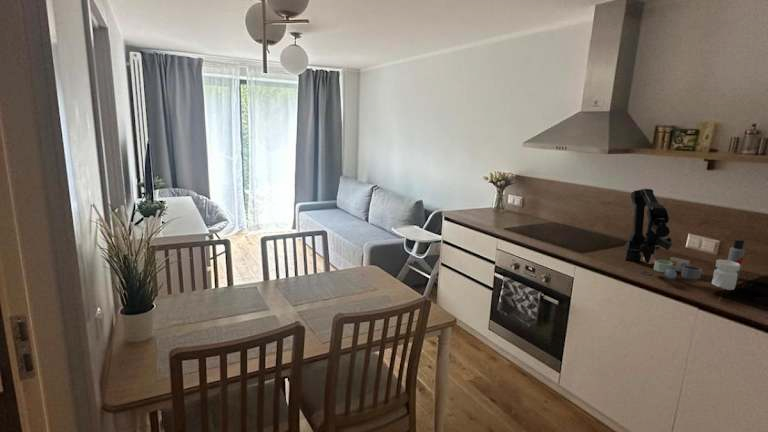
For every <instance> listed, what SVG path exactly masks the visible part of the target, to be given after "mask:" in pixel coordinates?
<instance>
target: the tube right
mask: <svg viewBox="0 0 768 432" xmlns="http://www.w3.org/2000/svg"><path fill="white" fill-rule="evenodd" d="M702 273H703V268H701V267H698V266H695V265H690V264H689V265H683V267H682V272H680V276H682V277H683V278H686V279H691V280H700V279H701V277H702V276H701V275H702Z"/></svg>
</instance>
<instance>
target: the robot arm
mask: <svg viewBox="0 0 768 432" xmlns="http://www.w3.org/2000/svg"><path fill="white" fill-rule="evenodd" d="M630 198H631V204H632V205H633V207H634V211H633V213H634V214H633V224H632V233H631V234H630V236H629V237H628V240H627V241H626V243H625V245H624V250H625V251H626V257H625V259H624V261H626V262H630V263H634V264H635V263H636V264H639V263H641V262H642V259H643V257H644V258H645V261H646V264H648V263H649V261H650V258H651V256H652V255H653V256H654V254H656V252H657V251H658V250H659V249H660V247H661V248H663V249H665V250H667V251H669V250H670V249H671V247H672V246H673V244H674V242H673V241H672V240H673V239H672V238H671V237H668V235H669V234H670V233H671V231H670V227H668V225H667V224H669V220H670V218H669V213H668V210H667V208H666V207H665V206H664V205H663V204H660V203H659V202H658V199H657V198H656V196H655V193H654V190H653V189H652V188H641V189H639V190H634V191H632V192H631V194H630ZM646 206H647V211H646V215H647V218H648V219H647V220H648V222H647V227H646V232H645V235H644V221H645V220H644V219H645V209H646ZM665 237H666V238H665ZM642 256H643V257H642Z"/></svg>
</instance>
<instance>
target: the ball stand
mask: <svg viewBox="0 0 768 432" xmlns="http://www.w3.org/2000/svg"><path fill="white" fill-rule="evenodd" d="M640 274H641V275H646V276H651V275H652V271H647V270H646V271H645V270H642V271H640ZM663 280H667V281H672V282H674V281H675V280H676V277H675V278H674V279H669V278H666V277H665V276H664V277H663Z"/></svg>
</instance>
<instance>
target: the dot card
mask: <svg viewBox="0 0 768 432" xmlns="http://www.w3.org/2000/svg"><path fill="white" fill-rule="evenodd" d="M669 261H670V262H672V263H673V266H672V269H673V270H675V271H676V272H679V273H681V272H682V267H683V265H690V260H687V259H684V258H683V259H682V258H676V257H673V256H670V259H669Z"/></svg>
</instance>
